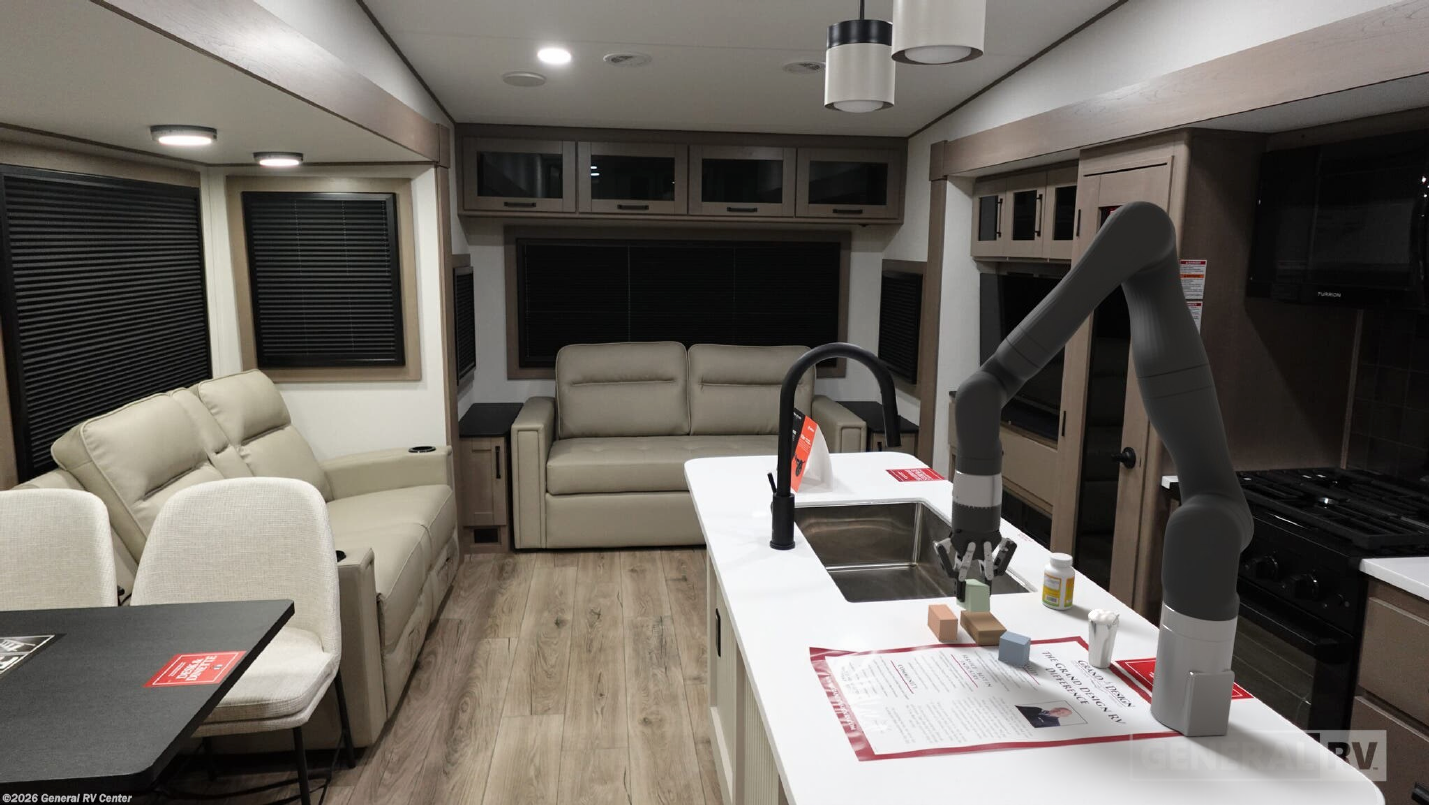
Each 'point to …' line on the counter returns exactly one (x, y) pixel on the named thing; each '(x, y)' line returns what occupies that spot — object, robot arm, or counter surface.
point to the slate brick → (1014, 648)
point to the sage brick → (976, 597)
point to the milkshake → (1101, 637)
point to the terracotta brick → (942, 622)
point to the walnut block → (982, 627)
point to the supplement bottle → (1058, 582)
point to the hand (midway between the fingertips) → (972, 599)
